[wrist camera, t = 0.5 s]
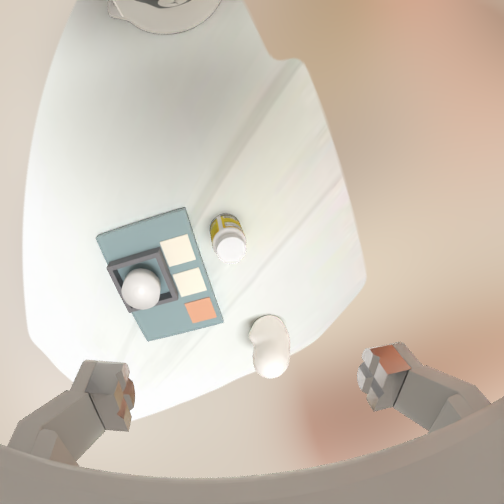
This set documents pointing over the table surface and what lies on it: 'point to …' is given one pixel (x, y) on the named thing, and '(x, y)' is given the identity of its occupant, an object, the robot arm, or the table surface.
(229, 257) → the supplement bottle
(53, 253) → the table surface
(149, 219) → the board
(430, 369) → the robot arm
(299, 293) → the table surface
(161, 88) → the table surface
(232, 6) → the table surface
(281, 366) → the figurine
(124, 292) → the dome
